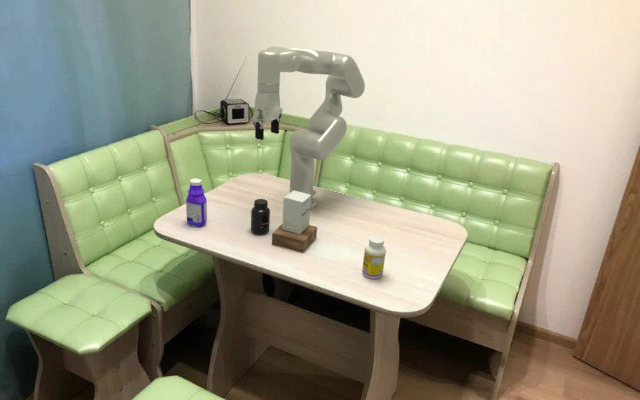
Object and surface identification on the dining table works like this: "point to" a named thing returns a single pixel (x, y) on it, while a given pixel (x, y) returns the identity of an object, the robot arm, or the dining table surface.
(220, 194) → the dining table surface
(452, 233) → the dining table surface
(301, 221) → the supplement box
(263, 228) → the supplement bottle
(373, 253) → the supplement bottle
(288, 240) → the walnut block
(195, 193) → the bottle
